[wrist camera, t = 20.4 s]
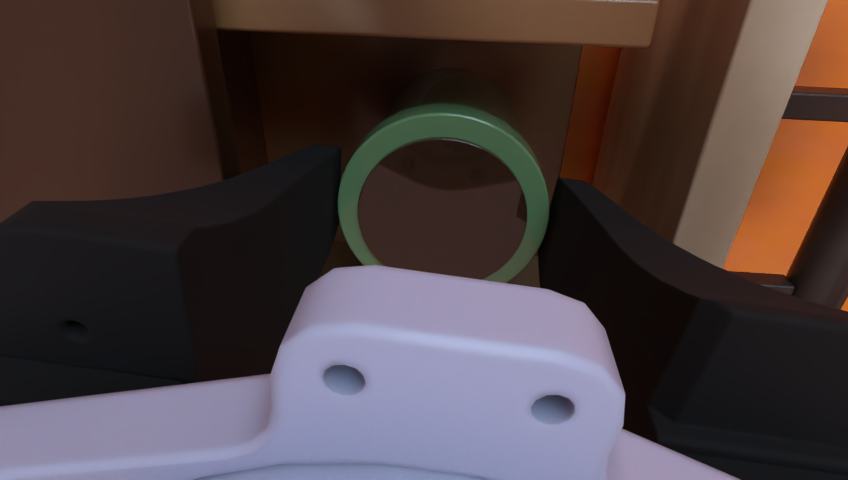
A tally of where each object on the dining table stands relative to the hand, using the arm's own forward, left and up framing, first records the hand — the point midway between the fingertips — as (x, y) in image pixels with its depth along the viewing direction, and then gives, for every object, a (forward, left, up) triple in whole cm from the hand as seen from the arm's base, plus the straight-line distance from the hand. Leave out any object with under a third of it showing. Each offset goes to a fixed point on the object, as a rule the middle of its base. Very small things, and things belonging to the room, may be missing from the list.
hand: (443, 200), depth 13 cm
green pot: (0, 0, -4) cm, 4 cm away
